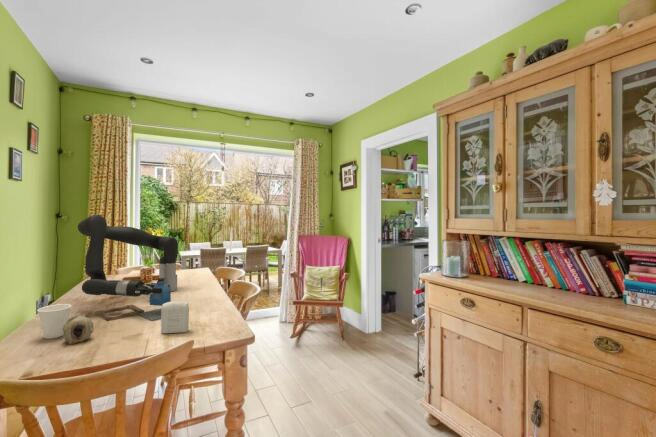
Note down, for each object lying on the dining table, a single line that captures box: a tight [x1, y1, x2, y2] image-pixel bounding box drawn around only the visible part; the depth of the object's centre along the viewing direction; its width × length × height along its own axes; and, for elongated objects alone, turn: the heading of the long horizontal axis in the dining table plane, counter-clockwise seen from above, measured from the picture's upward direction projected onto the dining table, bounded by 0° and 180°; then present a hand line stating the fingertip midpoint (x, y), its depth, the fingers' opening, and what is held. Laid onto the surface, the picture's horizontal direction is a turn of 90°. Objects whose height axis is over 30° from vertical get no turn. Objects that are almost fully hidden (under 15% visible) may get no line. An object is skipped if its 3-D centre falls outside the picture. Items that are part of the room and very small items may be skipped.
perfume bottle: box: [149, 277, 172, 307], centre depth 147 cm, size 6×6×12 cm
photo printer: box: [160, 300, 190, 334], centre depth 126 cm, size 10×4×12 cm, turn 103°
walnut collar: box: [96, 304, 145, 322], centre depth 148 cm, size 15×15×1 cm
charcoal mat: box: [138, 307, 162, 322], centre depth 148 cm, size 14×14×1 cm
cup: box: [36, 303, 72, 340], centre depth 120 cm, size 10×10×11 cm
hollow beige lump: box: [62, 314, 95, 345], centre depth 116 cm, size 9×8×10 cm
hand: (165, 289), depth 147 cm, fingers closed on perfume bottle, 6 cm apart
